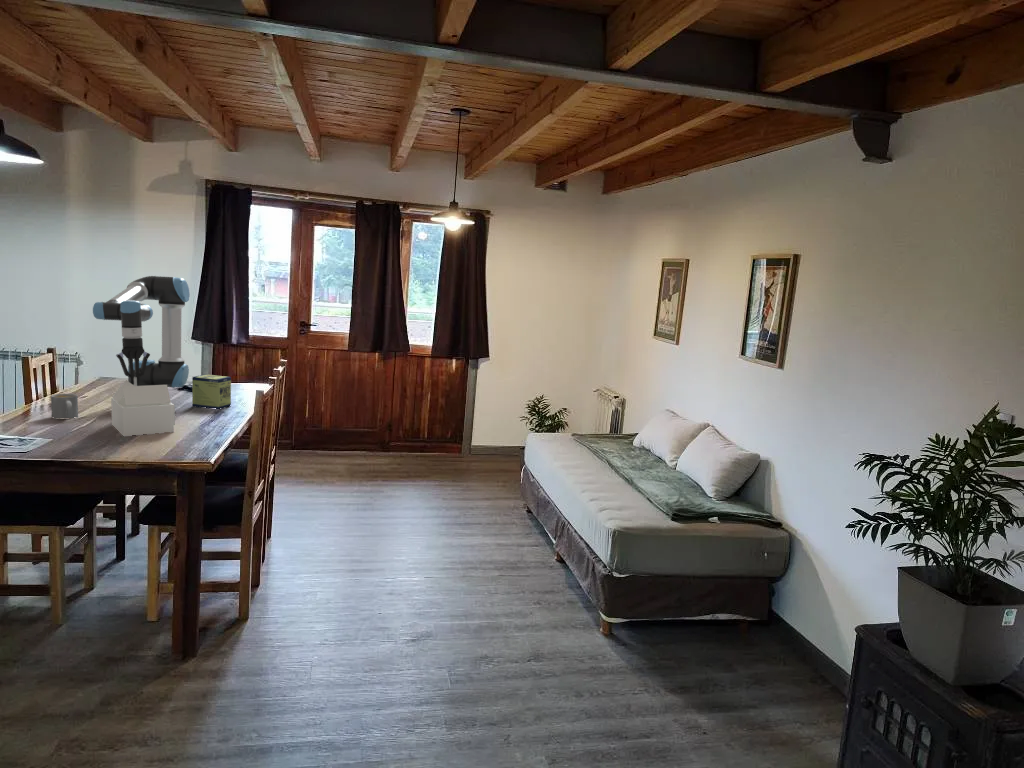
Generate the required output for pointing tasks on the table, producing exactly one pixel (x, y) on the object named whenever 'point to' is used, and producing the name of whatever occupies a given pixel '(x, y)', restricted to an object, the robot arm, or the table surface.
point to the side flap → (121, 391)
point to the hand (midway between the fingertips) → (135, 391)
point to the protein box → (211, 391)
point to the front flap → (146, 395)
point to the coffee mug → (64, 405)
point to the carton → (142, 418)
